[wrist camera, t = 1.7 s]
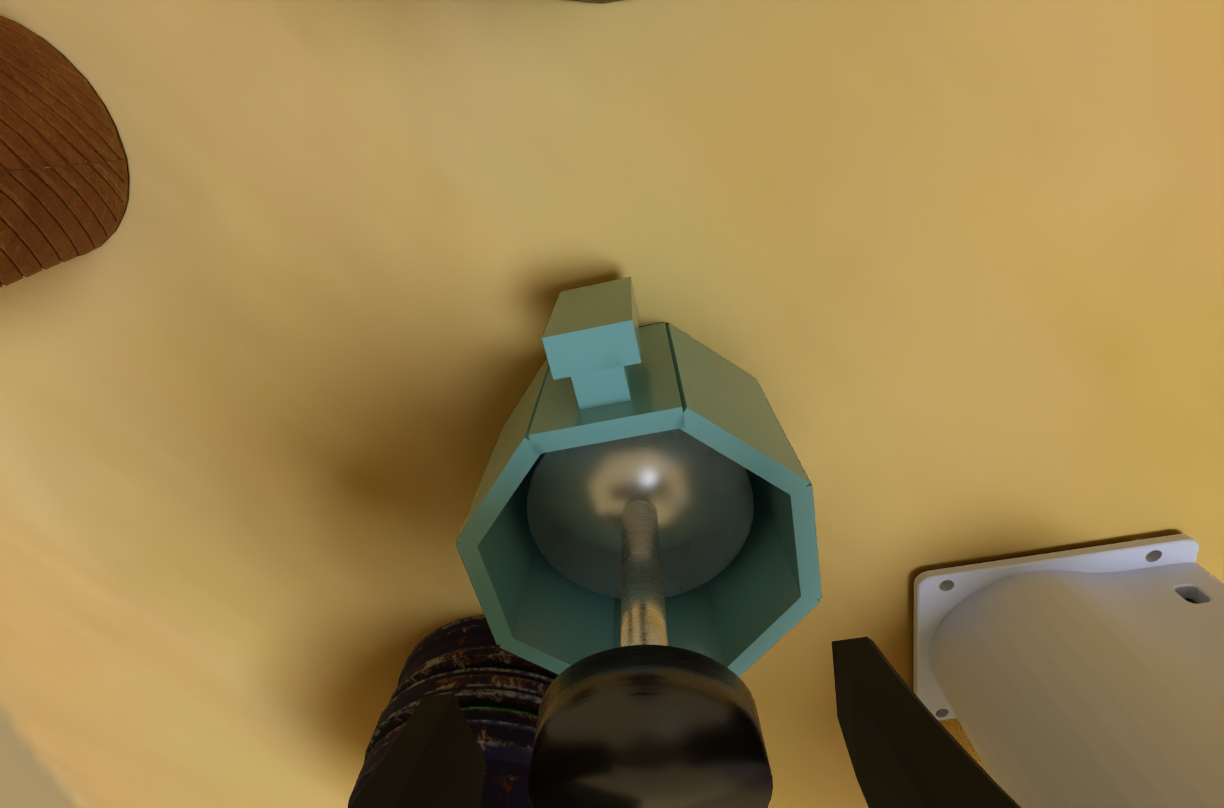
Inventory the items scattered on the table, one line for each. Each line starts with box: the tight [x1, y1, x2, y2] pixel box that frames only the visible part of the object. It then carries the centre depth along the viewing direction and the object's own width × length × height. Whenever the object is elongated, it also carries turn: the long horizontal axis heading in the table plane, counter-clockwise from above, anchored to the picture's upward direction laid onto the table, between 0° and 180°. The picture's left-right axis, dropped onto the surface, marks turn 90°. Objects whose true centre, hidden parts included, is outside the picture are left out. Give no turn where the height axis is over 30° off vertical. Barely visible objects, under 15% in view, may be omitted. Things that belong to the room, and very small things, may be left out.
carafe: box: [456, 277, 822, 677], centre depth 17 cm, size 8×10×6 cm
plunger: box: [527, 429, 773, 808], centre depth 13 cm, size 6×6×8 cm
